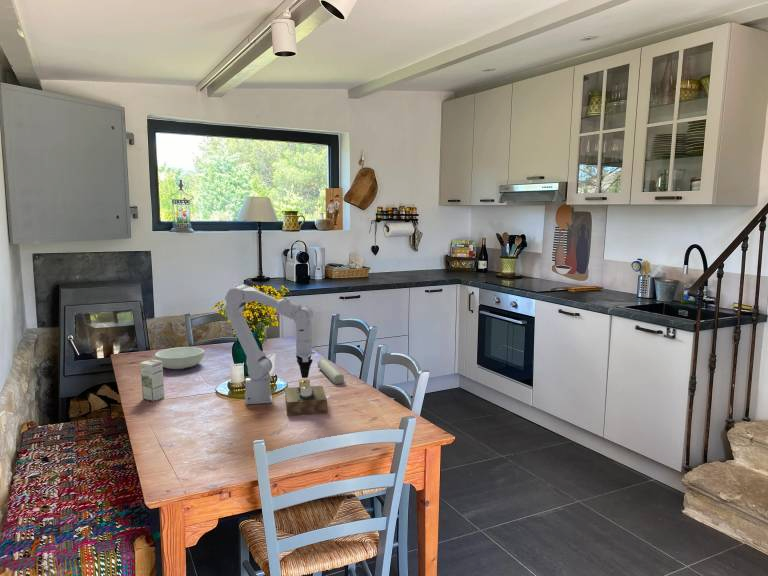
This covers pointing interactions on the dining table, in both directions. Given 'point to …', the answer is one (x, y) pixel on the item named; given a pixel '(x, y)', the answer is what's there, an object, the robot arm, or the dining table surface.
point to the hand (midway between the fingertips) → (304, 375)
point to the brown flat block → (305, 401)
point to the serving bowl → (180, 357)
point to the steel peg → (306, 392)
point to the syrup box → (152, 379)
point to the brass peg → (304, 383)
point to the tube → (330, 371)
